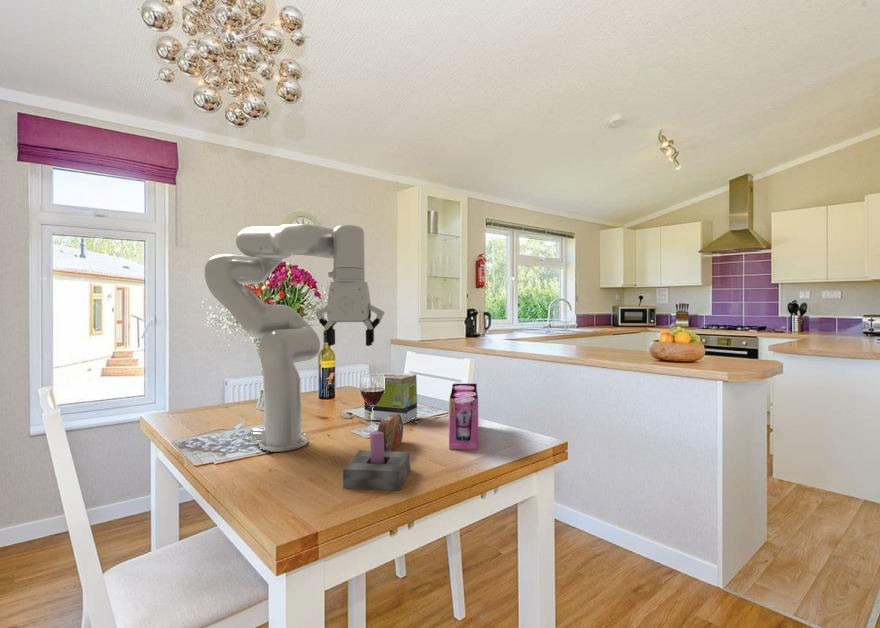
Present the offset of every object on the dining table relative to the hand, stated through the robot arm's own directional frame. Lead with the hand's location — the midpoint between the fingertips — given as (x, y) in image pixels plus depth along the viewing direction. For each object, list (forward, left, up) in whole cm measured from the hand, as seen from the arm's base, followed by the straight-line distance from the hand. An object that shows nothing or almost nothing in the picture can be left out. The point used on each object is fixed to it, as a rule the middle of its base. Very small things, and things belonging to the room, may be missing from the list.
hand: (350, 345), depth 114 cm
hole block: (+10, -12, -28) cm, 32 cm away
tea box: (+1, +38, -29) cm, 48 cm away
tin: (+8, +8, -29) cm, 31 cm away
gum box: (+27, +20, -29) cm, 44 cm away
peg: (+10, -12, -28) cm, 32 cm away
